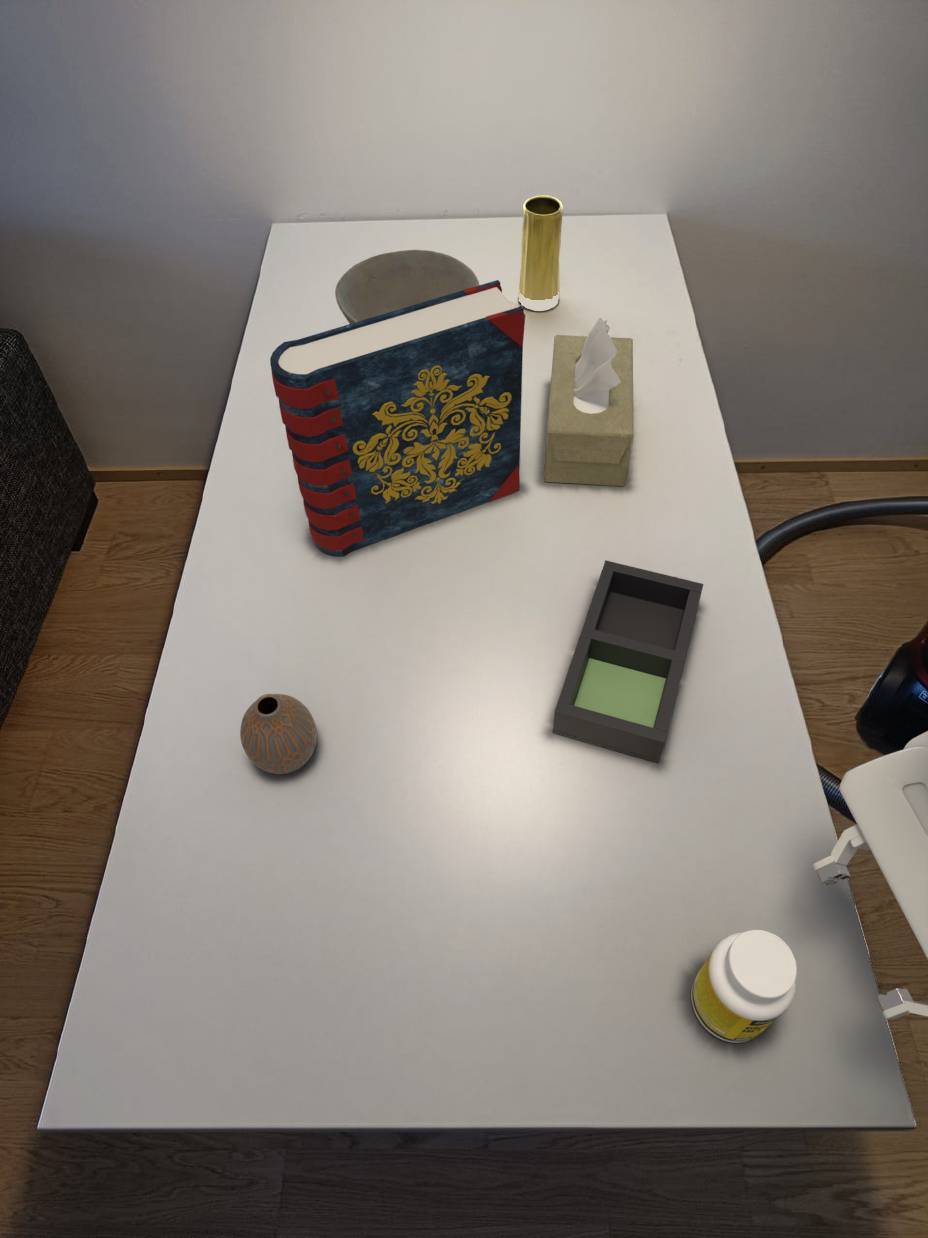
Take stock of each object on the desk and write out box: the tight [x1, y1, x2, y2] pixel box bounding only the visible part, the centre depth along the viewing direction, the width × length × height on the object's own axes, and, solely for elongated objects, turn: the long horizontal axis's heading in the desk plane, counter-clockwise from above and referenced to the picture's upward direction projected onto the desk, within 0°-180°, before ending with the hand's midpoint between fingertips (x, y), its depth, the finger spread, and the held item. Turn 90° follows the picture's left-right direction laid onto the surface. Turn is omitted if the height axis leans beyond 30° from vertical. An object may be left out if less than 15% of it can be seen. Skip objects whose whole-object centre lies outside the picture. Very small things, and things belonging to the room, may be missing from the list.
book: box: [269, 279, 526, 557], centre depth 94 cm, size 25×7×25 cm, turn 115°
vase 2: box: [517, 195, 564, 300], centre depth 123 cm, size 6×6×14 cm
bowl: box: [334, 249, 480, 324], centre depth 118 cm, size 19×19×10 cm
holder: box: [552, 560, 704, 764], centre depth 89 cm, size 20×10×4 cm, turn 161°
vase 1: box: [239, 693, 318, 775], centre depth 82 cm, size 7×7×9 cm
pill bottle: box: [690, 929, 798, 1044], centre depth 66 cm, size 6×6×11 cm
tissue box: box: [543, 317, 634, 487], centre depth 105 cm, size 19×10×16 cm, turn 174°
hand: (850, 939), depth 62 cm, fingers open, 8 cm apart
